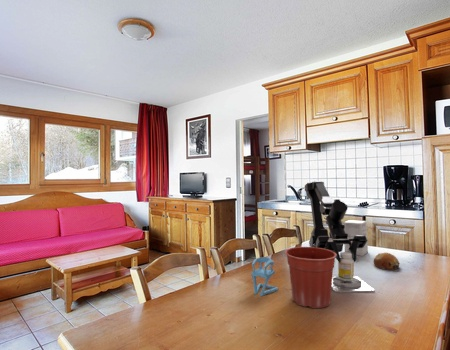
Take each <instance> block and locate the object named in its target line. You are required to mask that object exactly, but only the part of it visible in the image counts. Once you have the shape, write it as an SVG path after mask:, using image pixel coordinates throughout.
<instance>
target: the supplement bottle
mask: <svg viewBox="0 0 450 350" xmlns="http://www.w3.org/2000/svg"><path fill="white" fill-rule="evenodd" d="M339 255H340V259H341V262H338V261H337V262H338V274H337V275H338V276H339V279H341V280H344V281H352V280H353V279H354V274H355V273H354V270H355V269H354V266H355V265H354V263H355V262H354V261H353V259H352V254H351V253H347V252H345V251H341V252H339Z"/></svg>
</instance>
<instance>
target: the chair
mask: <svg viewBox="0 0 450 350" xmlns="http://www.w3.org/2000/svg"><path fill="white" fill-rule="evenodd" d="M257 263H258V264H259V268H257V269H256V267H255V265H256V264H257ZM262 263H265V265H264V266H262ZM274 263H275V261H274V260H273V259H271V258H269V257H267V256H261V257H258V258H255V259H253V261H252V263H251V266H252V272H250V276H252V282H253V283H252V284H253V294H254V295H257V294H258V293H259V291H260V289H261V291H260V293H259V296H260V297H263V296H265V295H268V294H271V293H274V292H277V291H278V290H279V287H277V286H273V285H269V284H268V283H269V280H270V279H271V277H272V276H273V275H274V274H276V271H275V270H274V269H273V266H274ZM269 266H270V268H269V269H268V267H269ZM262 267H263V268H262ZM257 277H259V278H262V279H264V283H257ZM261 287H262V288H261ZM265 289H267V290H265Z"/></svg>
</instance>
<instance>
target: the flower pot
mask: <svg viewBox="0 0 450 350" xmlns="http://www.w3.org/2000/svg"><path fill="white" fill-rule="evenodd" d="M284 254H285V255H286V258H287V264H288V268H289V269H288V270H289V277H290V278H289V279H290V287H291V294H292V296H291V297H292V300H293V302H294V303H295V304H297V305H300V306H302V307H304V308H306V307H310V308H312V309H322V308H323V309H324V308H325V307H329V306H330V303H331V301H332V299H331V298H332V288H331V287H332V277H333V275H334V274H333V273H334V268H335V263H336V262H335V260H336V256H337V254H336V253H335V252H333V251H331V250H327V249H323V248H316V247H310V246H298V247H297V246H296V247H290V248H288V249H286V250H285V252H284Z"/></svg>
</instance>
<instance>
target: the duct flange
mask: <svg viewBox="0 0 450 350" xmlns="http://www.w3.org/2000/svg"><path fill="white" fill-rule="evenodd" d="M331 291H333V293H339V294H340V293H375V292H376V290H375V288H373V287H371V286H370V285H369V284H368V283H366V282H365V281H364V280H362V279H361V278H360V277H359V276H358V275H357V276H356V275H355V276H354V279H353V280H352V281H344V280H341V279H339V275H338V276H332V287H331Z"/></svg>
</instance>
